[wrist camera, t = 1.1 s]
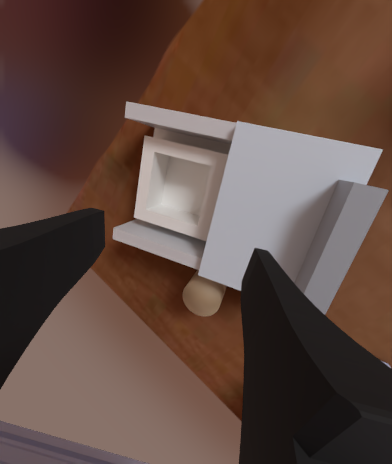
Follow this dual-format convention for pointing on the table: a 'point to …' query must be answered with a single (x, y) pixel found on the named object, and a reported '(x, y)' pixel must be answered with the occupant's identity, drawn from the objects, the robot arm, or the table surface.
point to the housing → (177, 183)
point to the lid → (292, 208)
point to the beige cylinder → (203, 295)
